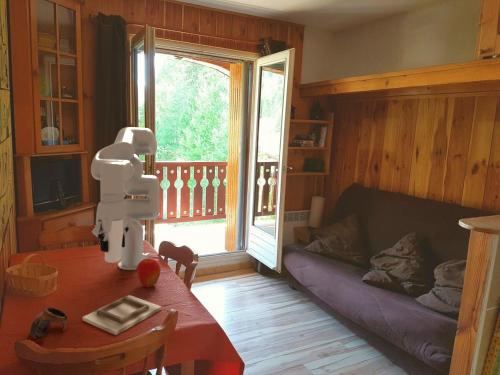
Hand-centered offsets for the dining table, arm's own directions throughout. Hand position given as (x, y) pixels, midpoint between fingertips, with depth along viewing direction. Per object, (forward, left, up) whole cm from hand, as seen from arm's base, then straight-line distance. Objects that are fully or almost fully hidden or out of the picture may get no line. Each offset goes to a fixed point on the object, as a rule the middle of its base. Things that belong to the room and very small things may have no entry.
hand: (113, 248), depth 128 cm
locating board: (+1, +7, -22) cm, 23 cm away
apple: (-21, -3, -22) cm, 30 cm away
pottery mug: (+22, -4, -22) cm, 32 cm away
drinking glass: (0, 0, -5) cm, 5 cm away
